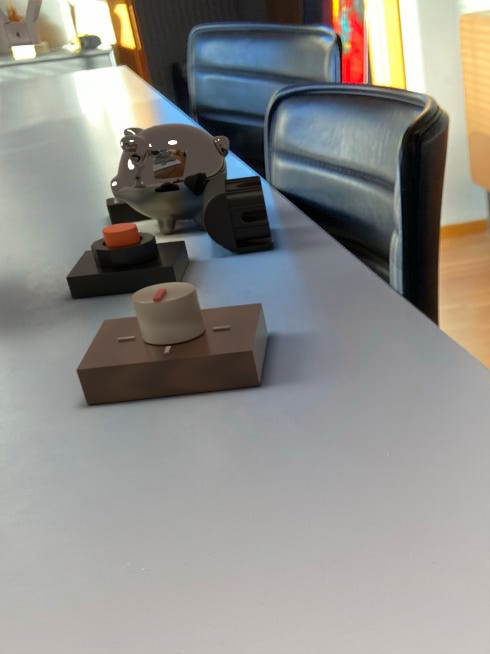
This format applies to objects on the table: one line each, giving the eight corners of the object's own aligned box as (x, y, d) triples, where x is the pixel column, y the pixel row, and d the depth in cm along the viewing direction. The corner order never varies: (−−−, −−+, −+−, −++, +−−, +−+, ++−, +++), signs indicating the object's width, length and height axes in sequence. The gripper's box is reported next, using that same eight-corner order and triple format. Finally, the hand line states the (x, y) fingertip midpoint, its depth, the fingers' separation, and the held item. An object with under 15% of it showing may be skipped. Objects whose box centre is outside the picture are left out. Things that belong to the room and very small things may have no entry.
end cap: (210, 236, 122) (197, 175, 118) (269, 228, 123) (258, 168, 119) (211, 258, 115) (196, 195, 111) (273, 250, 115) (262, 186, 111)
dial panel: (87, 405, 82) (75, 367, 81) (113, 352, 92) (103, 317, 90) (259, 385, 83) (251, 348, 81) (268, 335, 93) (261, 300, 91)
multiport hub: (197, 211, 133) (193, 192, 132) (111, 224, 131) (106, 205, 129) (194, 204, 136) (190, 186, 135) (110, 216, 134) (105, 198, 133)
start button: (103, 250, 107) (98, 233, 106) (109, 241, 110) (105, 224, 109) (138, 247, 107) (133, 230, 106) (143, 238, 110) (138, 221, 109)
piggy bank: (126, 223, 131) (100, 124, 124) (243, 207, 133) (223, 110, 126) (120, 245, 122) (91, 141, 115) (245, 229, 124) (224, 125, 117)
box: (72, 298, 106) (60, 259, 104) (91, 270, 114) (80, 233, 112) (178, 287, 107) (168, 248, 104) (189, 260, 115) (180, 223, 112)
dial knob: (150, 325, 88) (138, 281, 86) (209, 320, 88) (199, 276, 86) (136, 347, 84) (123, 301, 81) (199, 341, 84) (188, 295, 81)
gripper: (105, -152, 88) (144, 33, 96) (-140, -138, 86) (-80, 49, 94) (91, -157, 82) (134, 40, 90) (-170, -142, 81) (-103, 56, 89)
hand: (23, 45), depth 92 cm, fingers closed
